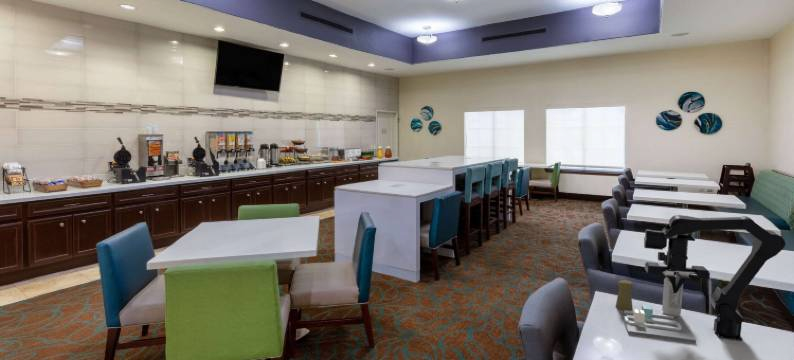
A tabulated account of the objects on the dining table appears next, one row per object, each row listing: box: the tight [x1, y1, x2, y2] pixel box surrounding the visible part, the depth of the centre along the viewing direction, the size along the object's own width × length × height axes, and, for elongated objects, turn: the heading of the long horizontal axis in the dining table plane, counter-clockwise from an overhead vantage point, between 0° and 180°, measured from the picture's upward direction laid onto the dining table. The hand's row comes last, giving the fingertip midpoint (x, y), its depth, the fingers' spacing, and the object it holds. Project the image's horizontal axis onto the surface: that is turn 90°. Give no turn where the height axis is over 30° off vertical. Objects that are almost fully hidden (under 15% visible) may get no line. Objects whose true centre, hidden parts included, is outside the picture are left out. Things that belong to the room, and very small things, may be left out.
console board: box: [620, 304, 697, 344], centre depth 150 cm, size 20×16×5 cm
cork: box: [615, 279, 634, 312], centre depth 166 cm, size 6×6×11 cm
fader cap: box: [633, 308, 645, 323], centre depth 151 cm, size 3×3×4 cm
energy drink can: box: [661, 274, 684, 318], centre depth 159 cm, size 6×6×15 cm
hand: (674, 292), depth 150 cm, fingers closed
